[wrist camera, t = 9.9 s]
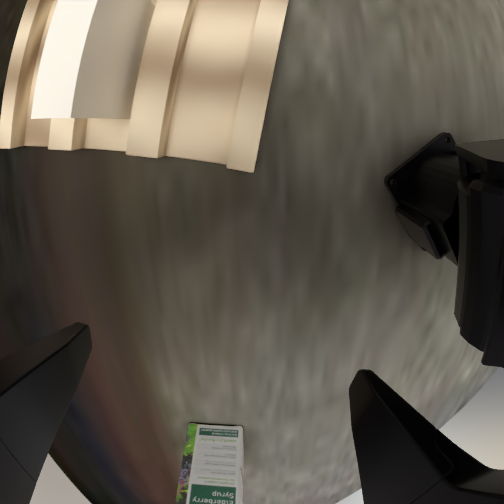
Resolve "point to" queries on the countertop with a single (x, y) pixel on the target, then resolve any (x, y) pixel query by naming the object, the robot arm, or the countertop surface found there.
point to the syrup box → (212, 465)
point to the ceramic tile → (92, 59)
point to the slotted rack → (165, 84)
